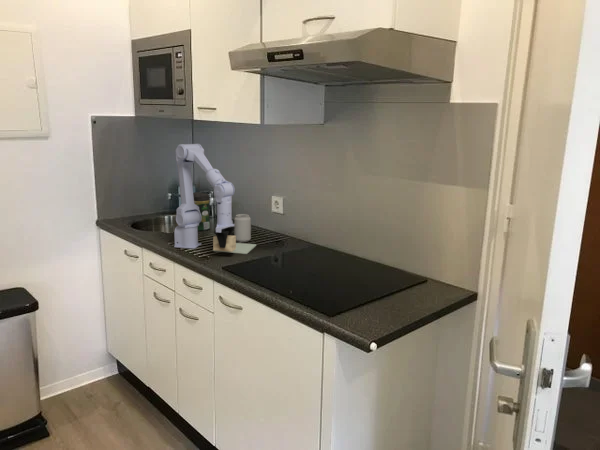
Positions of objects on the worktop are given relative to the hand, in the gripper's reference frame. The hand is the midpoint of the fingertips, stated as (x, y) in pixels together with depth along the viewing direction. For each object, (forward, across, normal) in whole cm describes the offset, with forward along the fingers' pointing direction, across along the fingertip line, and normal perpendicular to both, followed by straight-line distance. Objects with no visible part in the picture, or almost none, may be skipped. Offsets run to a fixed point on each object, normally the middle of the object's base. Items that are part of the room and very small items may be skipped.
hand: (224, 246), depth 196 cm
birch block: (+1, 0, 0) cm, 1 cm away
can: (+5, +27, +1) cm, 27 cm away
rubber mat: (+4, +13, 0) cm, 14 cm away
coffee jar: (+5, +43, +28) cm, 51 cm away
